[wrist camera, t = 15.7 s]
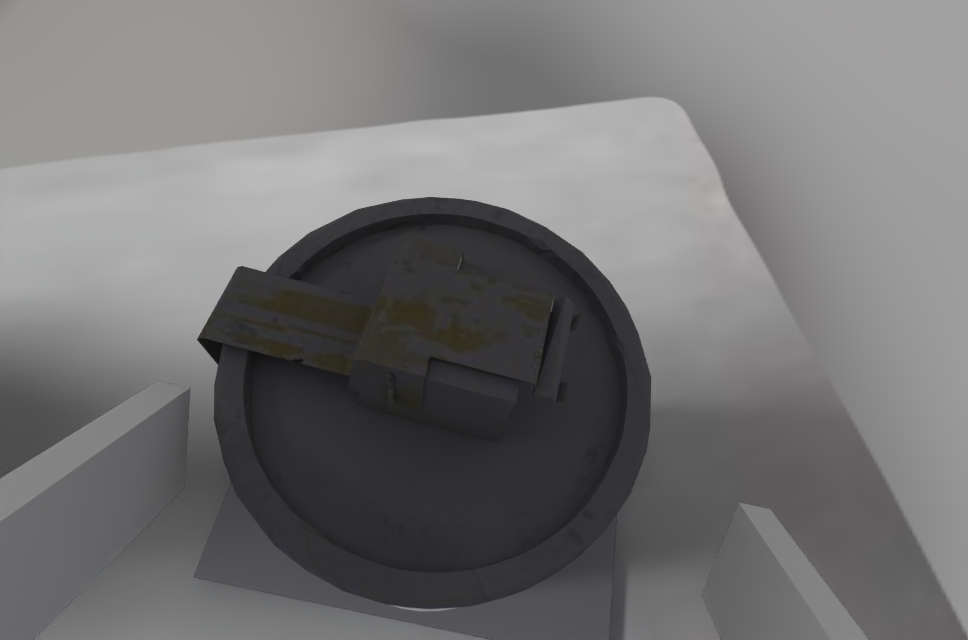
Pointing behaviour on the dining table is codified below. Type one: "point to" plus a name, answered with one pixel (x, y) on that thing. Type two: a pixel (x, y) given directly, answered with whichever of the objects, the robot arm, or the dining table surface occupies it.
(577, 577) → the circle mat
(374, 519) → the canister
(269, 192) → the dining table surface
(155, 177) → the dining table surface
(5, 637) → the robot arm
